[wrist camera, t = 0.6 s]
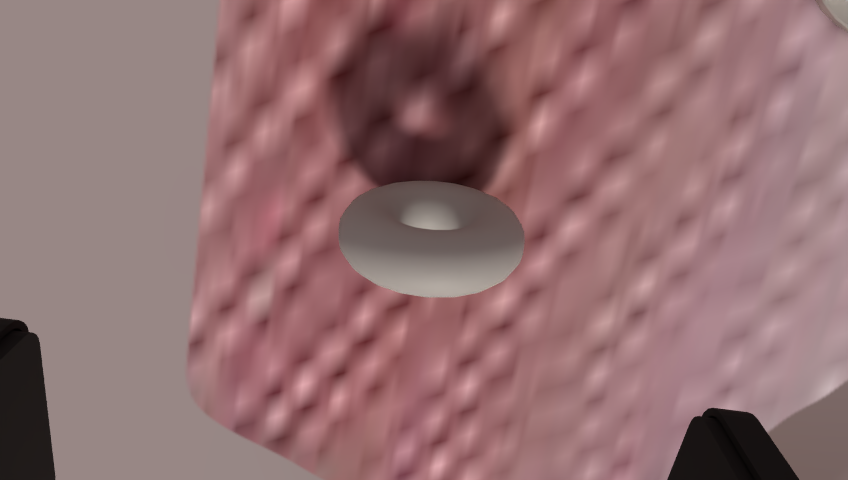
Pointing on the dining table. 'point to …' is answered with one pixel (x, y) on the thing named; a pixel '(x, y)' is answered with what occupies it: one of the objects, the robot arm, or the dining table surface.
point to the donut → (431, 238)
